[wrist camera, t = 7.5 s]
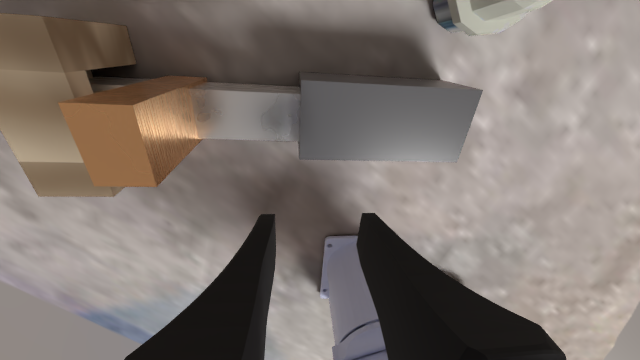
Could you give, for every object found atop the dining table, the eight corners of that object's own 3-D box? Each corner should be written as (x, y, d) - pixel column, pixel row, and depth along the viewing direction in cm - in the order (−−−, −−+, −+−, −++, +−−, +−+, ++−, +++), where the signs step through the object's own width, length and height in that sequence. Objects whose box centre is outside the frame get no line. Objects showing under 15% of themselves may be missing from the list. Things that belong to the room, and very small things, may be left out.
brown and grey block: (335, 131, 20) (363, 187, 12) (118, 124, 18) (-18, 185, 10) (340, 84, 18) (375, 115, 10) (100, 72, 16) (-79, 97, 8)
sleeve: (424, 139, 21) (457, 162, 17) (298, 135, 20) (299, 159, 16) (441, 80, 19) (483, 90, 15) (299, 71, 18) (301, 80, 14)
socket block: (161, 156, 20) (114, 196, 15) (107, 155, 19) (38, 196, 14) (126, 25, 16) (41, 16, 10) (55, 20, 15) (-70, 7, 10)
